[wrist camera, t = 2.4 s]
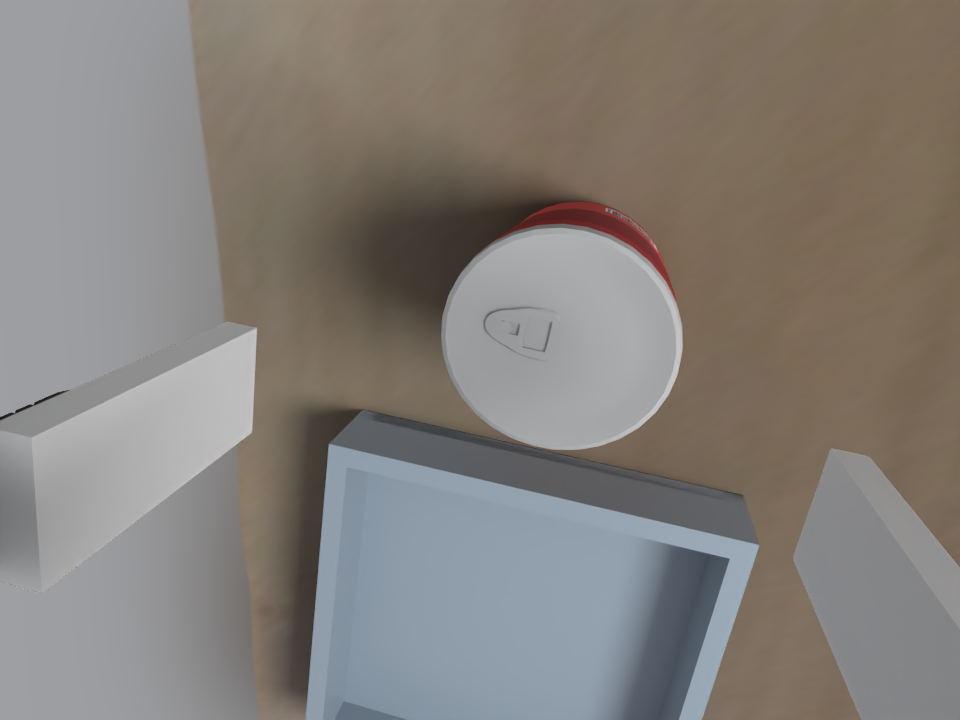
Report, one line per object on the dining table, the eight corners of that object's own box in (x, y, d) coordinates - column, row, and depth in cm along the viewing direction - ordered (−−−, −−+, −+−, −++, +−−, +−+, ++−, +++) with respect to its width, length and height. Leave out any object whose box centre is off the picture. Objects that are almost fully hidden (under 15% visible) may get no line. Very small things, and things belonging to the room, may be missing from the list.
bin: (362, 409, 37) (328, 443, 33) (742, 495, 34) (759, 545, 30) (334, 696, 43) (302, 756, 39) (650, 789, 40) (653, 864, 36)
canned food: (491, 204, 32) (428, 231, 22) (666, 194, 31) (687, 218, 20) (501, 359, 34) (447, 450, 24) (665, 358, 33) (683, 455, 22)
